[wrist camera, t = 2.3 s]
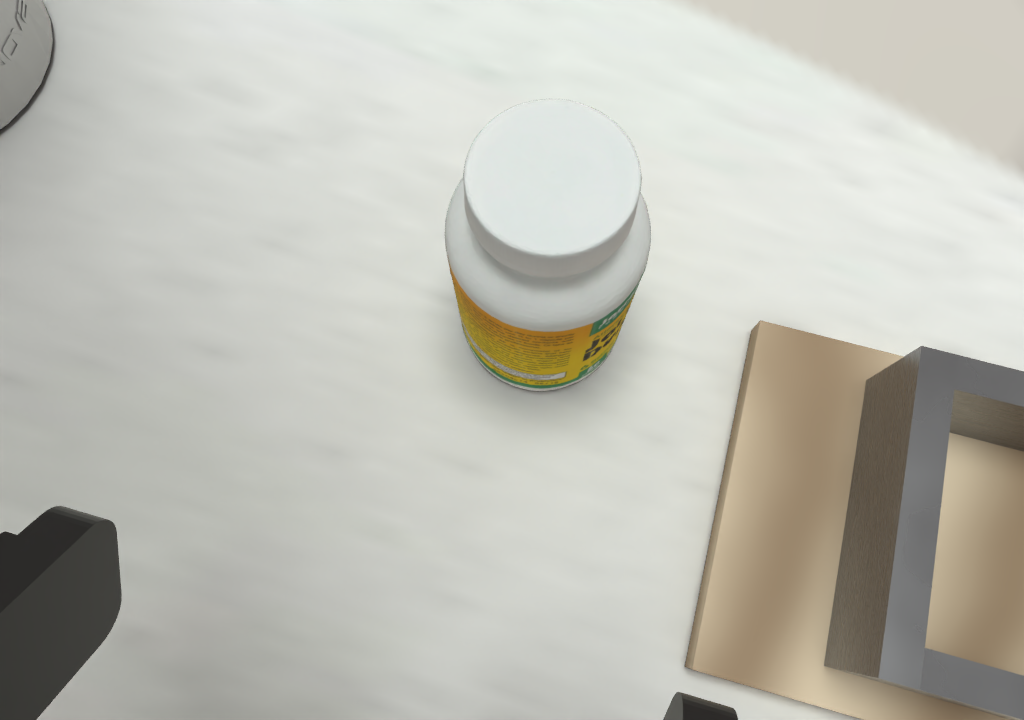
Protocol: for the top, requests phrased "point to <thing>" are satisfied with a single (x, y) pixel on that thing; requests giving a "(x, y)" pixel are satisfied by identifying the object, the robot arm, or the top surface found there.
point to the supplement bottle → (547, 242)
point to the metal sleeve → (916, 524)
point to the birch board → (819, 533)
